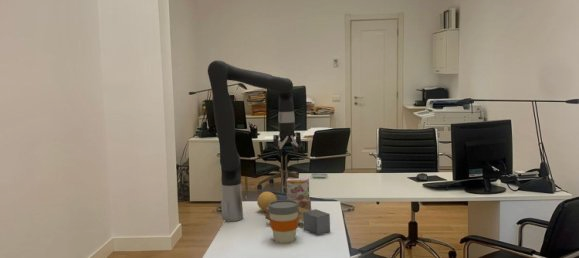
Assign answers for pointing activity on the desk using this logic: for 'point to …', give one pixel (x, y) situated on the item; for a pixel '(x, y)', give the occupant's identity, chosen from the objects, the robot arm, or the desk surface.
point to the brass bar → (301, 213)
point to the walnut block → (301, 203)
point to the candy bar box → (297, 189)
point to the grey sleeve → (316, 222)
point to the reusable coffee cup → (284, 220)
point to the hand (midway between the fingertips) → (287, 155)
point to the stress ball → (265, 200)
